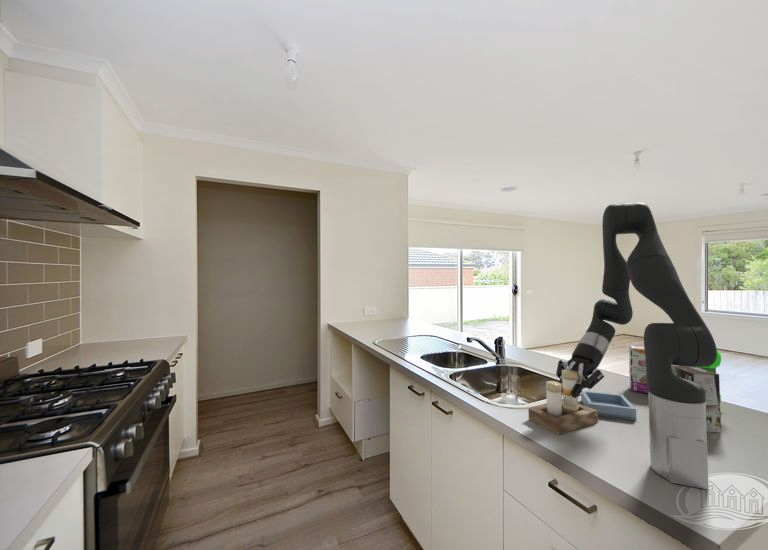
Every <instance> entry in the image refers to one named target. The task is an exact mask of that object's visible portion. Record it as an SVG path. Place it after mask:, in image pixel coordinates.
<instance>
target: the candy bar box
mask: <svg viewBox="0 0 768 550" xmlns="http://www.w3.org/2000/svg"><path fill="white" fill-rule="evenodd" d="M628 350H629V351H628V352H629V353H628V354H629V355H628V359H629V360H628V361H629V362H628V363H629V368H628V369H629V372H628V374H629V388H630V391H631V392H638V393H641V394H642V393H644V394H649V391H648V380H647V373H646V359H645V349H644V346H635V345H629V346H628Z"/></svg>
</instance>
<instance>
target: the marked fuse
mask: <svg viewBox="0 0 768 550" xmlns="http://www.w3.org/2000/svg"><path fill="white" fill-rule="evenodd" d="M577 380H578V372H577V371H574V370H566V369H565V370H562V385H563V387H562V389H563V392H562V400H563V409H565V410H568V411H570V412H572V413H574V412H577V411H579V405H578V403H579V396H578V397H577V398H574V397H572V396H571V394H570V393H571V391H572V389H573V387H574V386H575V384H577Z"/></svg>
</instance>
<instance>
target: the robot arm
mask: <svg viewBox="0 0 768 550" xmlns="http://www.w3.org/2000/svg"><path fill="white" fill-rule="evenodd" d="M629 234H634V235H636V236H637V237H638V242H637V243H636V245H635V247H634V249H632V251H631V252H630V254H629V255H628V257H627V259H625V258H624V256H623V254H622V253H621V251H620V250H619V247H618V243H617V235H629ZM602 249H603V251H602V252H603V263H604V264H603V275H602V276H603V277H602V286H601V287H602V288H601V291H602V294H604V295H605V296H607V297H610V298H611V299H613V300H609V299H605V298H604V299H603V298H602V299H599V300H598V301H596V302H595V303H594V306H593V313H592V318H591V322H590V325H589V326H588V328H587V330H585V331H586V332H585V333H584V334H583V335H582V337H581V338H580V340H579V342H578V343H577V345H576V346H575V348H574V350H573V352H572V354H571V358H570V359H569V360H567V361H563V360H561V359H560V360H558V362H557V368H556V373H555V374H556V376H557V378H558V379H559V381H558V382H559V383H561V384H562V370H574V371H577V372H578V380H577V384H575V386H574V387H573V389H572V391H571V393H570V394H571V396H572V397H574V398H577V397H578V398H579V397H580V396H581V391H584V389H589V390H592V388H594V387H595V386H596V385H597V384H598V383H600V381H601V380H603V378H605V375H604V374H603V373H602V371H601V370H600V369H598V367H599V366H600V364H601V362H602V361H603V358H604V357H605V355H606V353H607V351H608V349H609V346H610V344H611V342H612V340H613V338H614V337H615V336H616V335H615V334H616V329H615V327H614V326H613V325H612V324H611V323H613V324H617V325H627V324H629V323H630V322H631V321H632V318H633V317H634V316H633V312H634V311H633V307H632V306H633V305H632V304H631V303H632V302H631V297H630V285H631V284H632V286H633V288H634V289H635V291H637V292H638V293H639V294H641V296H643V297H644V298H645V299H647V300H648V301H650V302H651V303H653V304H654V305H656V306H657V308H660V309H661V310H662V311H664V313H665V314H666V315H667V316H668V317H669V318H670V320H671V321H672V322H651V323H649V324H648V325H647V326H645V329H644V333H643V347H644V349H645V359H646V373H647V380H648V391H649V393H648V421H649V422H648V423H649V425H648V427H649V455H650V457H649V458H650V460H649V461H650V468H651V469H652V471H654V472H655V473H656V474H658V475H659V476H662V477H663V478H665V479H666V480H668V482H669V483H671V484H677V485H680V486H681V485H682V486H687V487H692V488H697V489H698V488H700V489H704V490H709V467H708V466H709V465H708V463H709V462H708V461H709V459H708V439H707V438H708V437H707V436H708V434H707V433H708V431H707V429H706V394H705V390H704V388H703V387H702V386H700V385H699V384H697V383H694V382H692V381H689V380H686V379H683V378H680V377H678V376H676V375H674V374H673V372H672V368H671V366H692V367H707V366H711V365H713V364H714V363H715V361H716V359H717V350H718V349H717V345H716V342H715V339H714V337H713V334H712V333H711V331H710V329H709V327H708V326H707V323H706V322H705V321H704V320H703V318H702V316H701V315H700V313H699V312H698V311H697V309H696V308H695V306H694V303H692V301H691V299H690V298H689V296H688V294H687V291H686V290H685V288H684V286H683V283H682V282H681V279H680V277H679V275H678V272H677V269H676V267H675V265H674V264H673V262H672V259H671V257H670V255H669V254H668V252H667V250H666V248H665V246H664V244H663V241H662V239H661V236H660V234H659V232H658V228H657V226H656V222H655V218H654V216H653V212H652V211H651V208H650V207H649V205H648V204H647V203H644V202H628V203H627V202H626V203H616V204H615V203H614V204H609V205H607V206H606V208H605V209H604V212H603V215H602ZM614 300H615V301H614ZM562 387H563V385H562ZM562 393H563V389H562Z"/></svg>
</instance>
